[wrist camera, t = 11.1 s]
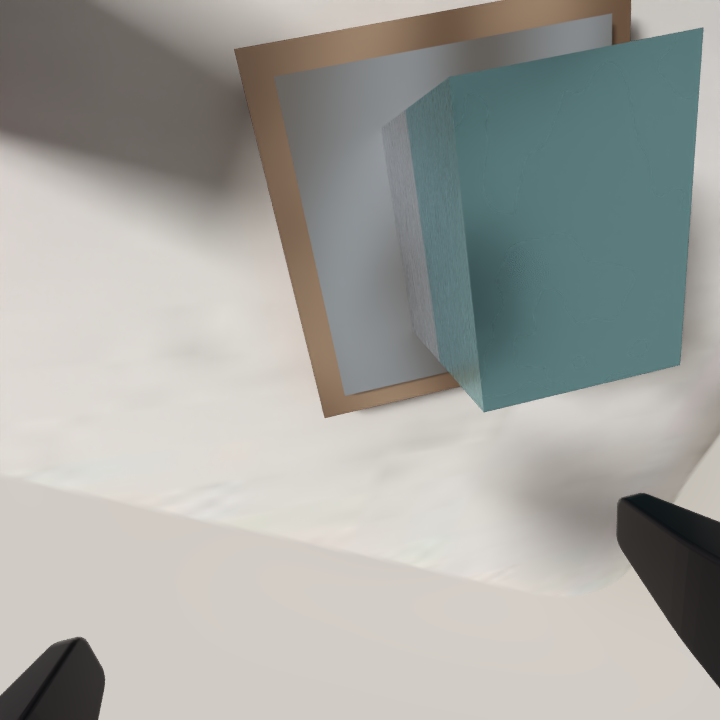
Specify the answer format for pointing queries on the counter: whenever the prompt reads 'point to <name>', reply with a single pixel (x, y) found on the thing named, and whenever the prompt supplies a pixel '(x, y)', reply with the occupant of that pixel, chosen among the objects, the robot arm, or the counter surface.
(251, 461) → the counter surface
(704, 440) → the counter surface
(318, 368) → the square wooden frame
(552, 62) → the teal and white box
